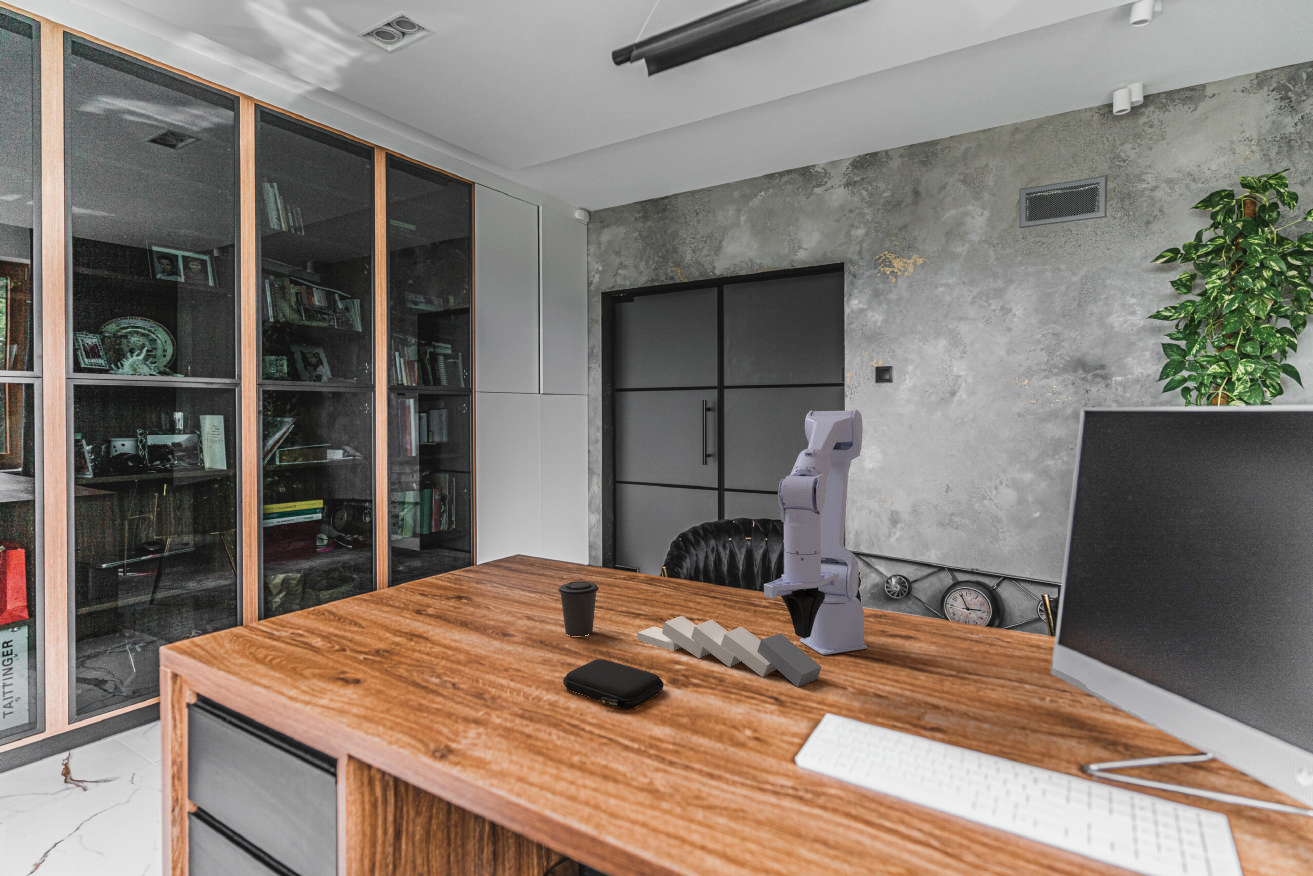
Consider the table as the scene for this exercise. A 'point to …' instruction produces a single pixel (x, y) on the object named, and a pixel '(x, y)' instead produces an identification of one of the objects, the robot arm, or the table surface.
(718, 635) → the domino
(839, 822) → the table surface
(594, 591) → the coffee cup
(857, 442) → the robot arm
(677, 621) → the domino
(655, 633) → the domino
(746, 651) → the domino
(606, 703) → the carrying case or bag
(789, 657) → the domino
